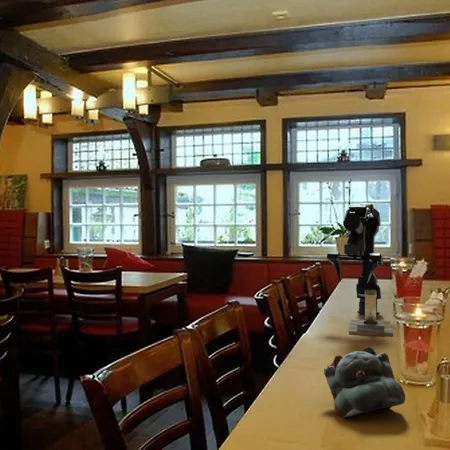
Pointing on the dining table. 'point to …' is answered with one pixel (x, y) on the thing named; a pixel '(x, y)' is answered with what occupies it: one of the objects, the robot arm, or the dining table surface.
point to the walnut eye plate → (353, 330)
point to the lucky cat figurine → (363, 383)
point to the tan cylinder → (370, 307)
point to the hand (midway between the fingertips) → (353, 282)
